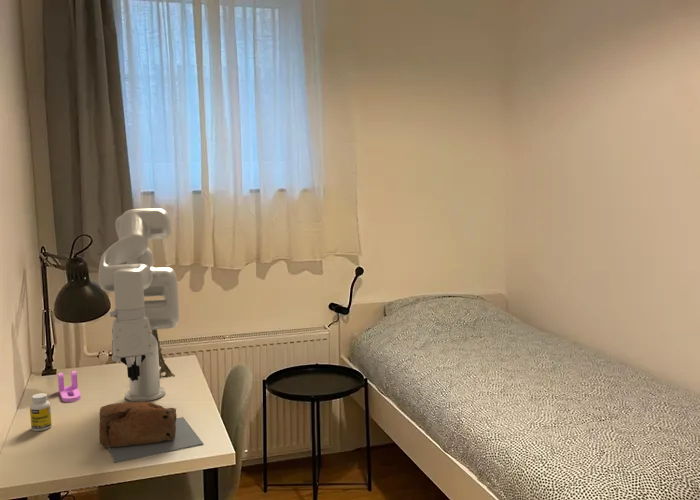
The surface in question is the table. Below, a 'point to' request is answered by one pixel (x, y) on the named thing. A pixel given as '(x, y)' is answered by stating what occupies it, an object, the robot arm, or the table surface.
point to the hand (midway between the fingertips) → (134, 379)
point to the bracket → (69, 388)
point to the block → (136, 424)
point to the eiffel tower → (161, 360)
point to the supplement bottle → (40, 412)
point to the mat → (159, 444)
